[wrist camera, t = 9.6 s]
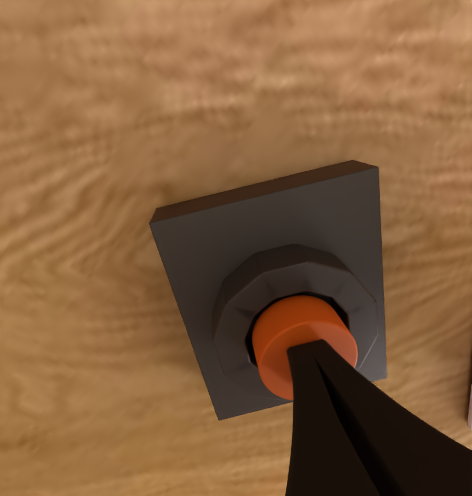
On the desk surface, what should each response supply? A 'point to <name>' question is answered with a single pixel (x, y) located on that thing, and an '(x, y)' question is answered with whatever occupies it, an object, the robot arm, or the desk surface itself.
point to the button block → (274, 270)
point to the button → (296, 338)
